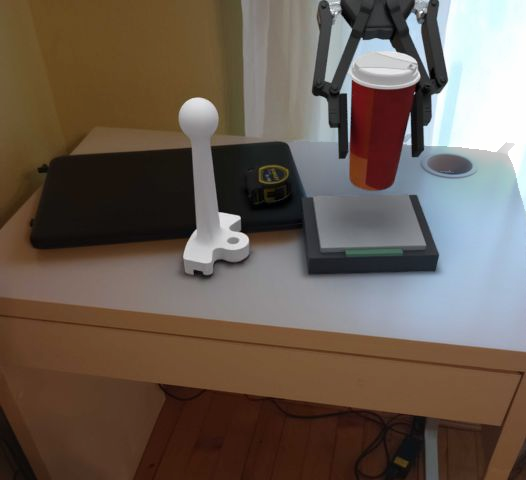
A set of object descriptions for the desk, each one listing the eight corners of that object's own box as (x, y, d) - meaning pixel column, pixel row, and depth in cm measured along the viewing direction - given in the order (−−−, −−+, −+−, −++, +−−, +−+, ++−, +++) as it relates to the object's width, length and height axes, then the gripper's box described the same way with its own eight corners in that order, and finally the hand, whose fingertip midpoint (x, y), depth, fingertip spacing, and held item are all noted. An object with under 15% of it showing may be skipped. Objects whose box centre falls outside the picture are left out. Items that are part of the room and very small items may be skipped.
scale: (414, 209, 89) (417, 189, 87) (435, 270, 79) (440, 249, 77) (300, 212, 89) (301, 192, 87) (308, 273, 79) (309, 252, 77)
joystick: (211, 224, 87) (198, 77, 73) (262, 234, 85) (260, 85, 71) (177, 271, 80) (155, 118, 66) (232, 283, 78) (222, 128, 64)
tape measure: (243, 186, 94) (242, 163, 91) (288, 182, 95) (288, 159, 92) (248, 211, 89) (247, 187, 87) (296, 206, 90) (297, 183, 87)
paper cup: (410, 170, 79) (430, 54, 69) (393, 201, 74) (411, 81, 64) (351, 158, 81) (362, 44, 72) (330, 187, 77) (338, 69, 67)
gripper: (286, -66, 68) (291, 145, 68) (477, -70, 68) (482, 141, 68) (283, -25, 75) (288, 166, 75) (455, -28, 76) (460, 162, 76)
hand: (380, 154), depth 72 cm, fingers closed on paper cup, 8 cm apart
